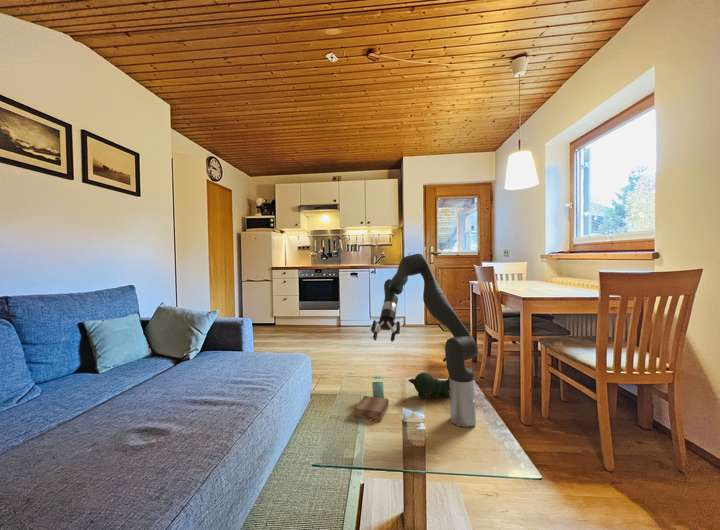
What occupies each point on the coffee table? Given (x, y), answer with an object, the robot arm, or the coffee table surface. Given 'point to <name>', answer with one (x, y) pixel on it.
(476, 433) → the coffee table surface
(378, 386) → the teal cylinder
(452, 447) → the coffee table surface
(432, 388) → the toy figurine
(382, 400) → the walnut plinth
